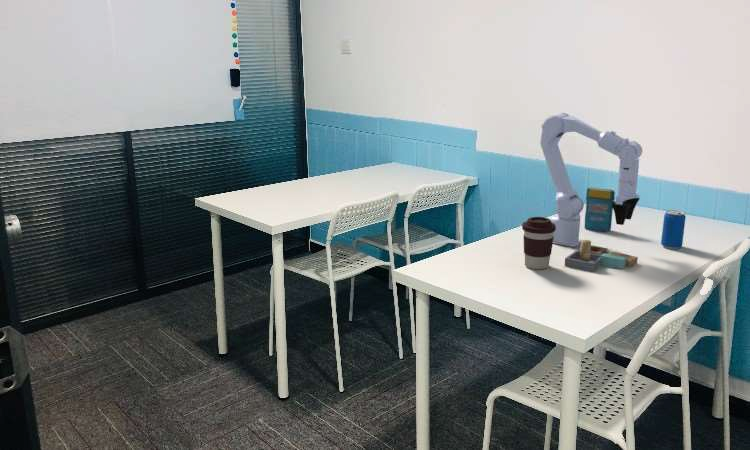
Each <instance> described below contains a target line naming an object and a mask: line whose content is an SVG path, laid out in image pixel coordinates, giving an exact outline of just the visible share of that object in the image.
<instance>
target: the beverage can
mask: <svg viewBox="0 0 750 450" xmlns="http://www.w3.org/2000/svg"><path fill="white" fill-rule="evenodd" d="M685 213H686V212H684V211H682V210H675V209H671V210H666V211H665V213H664V215H663V222H662V233H661V239H660V241H661V242H660V245H661V246H662V247H663V248H665V249H668V250H678V249H680V248H682V247H683V243H684V242H683V241H684V235H685V234H684V233H685V225H686V215H685Z"/></svg>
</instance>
